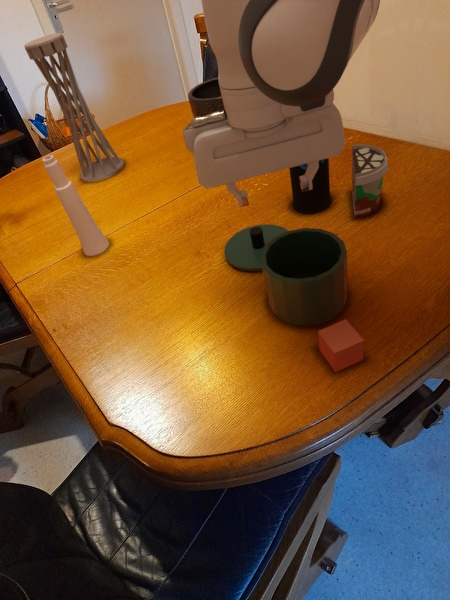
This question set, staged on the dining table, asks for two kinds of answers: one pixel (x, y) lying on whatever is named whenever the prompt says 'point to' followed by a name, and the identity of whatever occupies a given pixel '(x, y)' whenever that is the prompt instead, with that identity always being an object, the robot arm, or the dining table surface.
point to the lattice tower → (101, 166)
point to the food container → (367, 178)
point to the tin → (305, 276)
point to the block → (341, 345)
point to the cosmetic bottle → (76, 210)
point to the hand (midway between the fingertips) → (275, 196)
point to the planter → (206, 98)
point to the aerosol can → (318, 195)
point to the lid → (250, 246)
